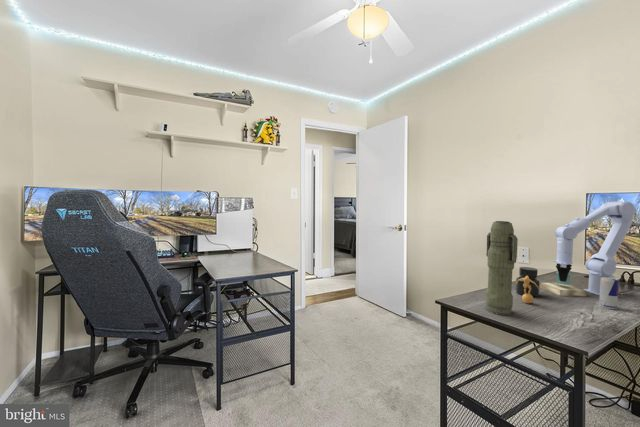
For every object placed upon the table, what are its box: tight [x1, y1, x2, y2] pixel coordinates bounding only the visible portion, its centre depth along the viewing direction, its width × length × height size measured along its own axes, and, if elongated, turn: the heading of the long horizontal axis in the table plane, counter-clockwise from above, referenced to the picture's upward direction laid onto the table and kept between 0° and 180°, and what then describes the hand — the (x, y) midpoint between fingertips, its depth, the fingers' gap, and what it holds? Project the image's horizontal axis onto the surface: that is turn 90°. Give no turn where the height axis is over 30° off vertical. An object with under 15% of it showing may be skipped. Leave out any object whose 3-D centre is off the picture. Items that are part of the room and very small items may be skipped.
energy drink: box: [598, 277, 620, 310], centre depth 119 cm, size 5×5×12 cm
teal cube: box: [555, 270, 571, 286], centre depth 139 cm, size 5×5×5 cm
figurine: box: [515, 276, 540, 304], centre depth 122 cm, size 8×6×12 cm
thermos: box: [485, 220, 518, 316], centre depth 113 cm, size 9×12×35 cm
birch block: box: [540, 282, 588, 297], centre depth 139 cm, size 12×12×3 cm
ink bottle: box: [515, 266, 541, 298], centre depth 134 cm, size 10×9×12 cm
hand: (563, 280), depth 139 cm, fingers closed on teal cube, 5 cm apart
